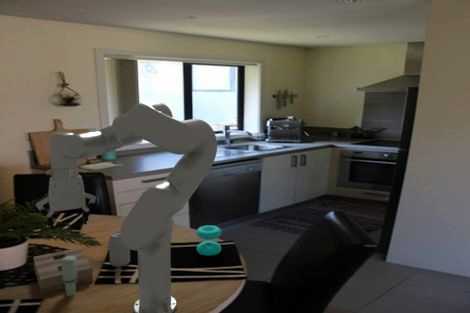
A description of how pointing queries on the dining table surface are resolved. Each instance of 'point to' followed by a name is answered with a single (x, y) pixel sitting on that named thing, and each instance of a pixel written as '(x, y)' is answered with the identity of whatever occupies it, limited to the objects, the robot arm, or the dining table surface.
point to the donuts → (208, 246)
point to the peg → (69, 274)
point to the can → (118, 251)
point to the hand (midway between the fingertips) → (68, 225)
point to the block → (60, 269)
